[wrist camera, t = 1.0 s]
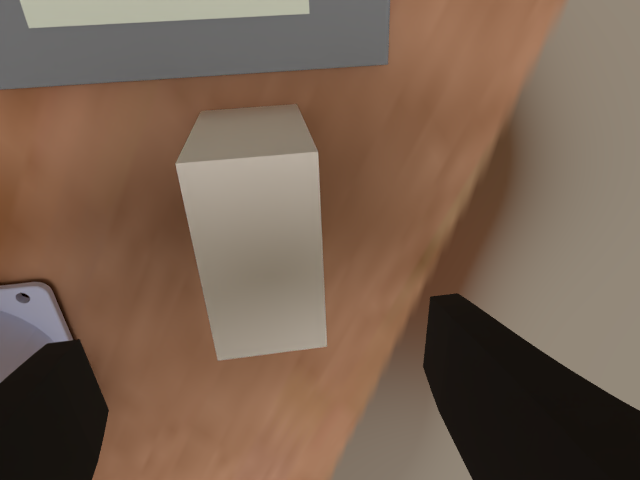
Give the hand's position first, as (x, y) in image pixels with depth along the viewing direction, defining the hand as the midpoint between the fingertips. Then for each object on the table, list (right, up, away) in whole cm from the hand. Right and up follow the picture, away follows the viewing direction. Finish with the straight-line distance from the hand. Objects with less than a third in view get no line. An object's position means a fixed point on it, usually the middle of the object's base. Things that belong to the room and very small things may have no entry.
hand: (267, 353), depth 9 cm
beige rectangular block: (-1, +4, +8) cm, 10 cm away
